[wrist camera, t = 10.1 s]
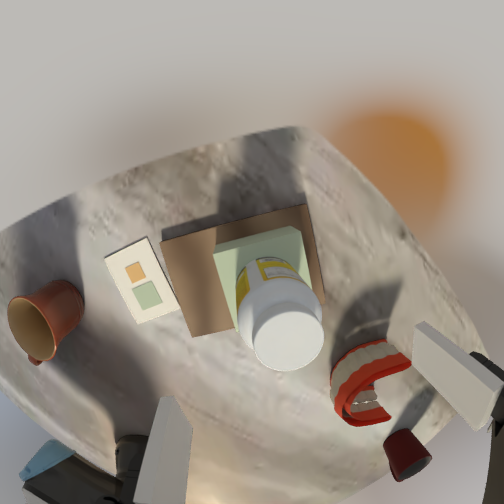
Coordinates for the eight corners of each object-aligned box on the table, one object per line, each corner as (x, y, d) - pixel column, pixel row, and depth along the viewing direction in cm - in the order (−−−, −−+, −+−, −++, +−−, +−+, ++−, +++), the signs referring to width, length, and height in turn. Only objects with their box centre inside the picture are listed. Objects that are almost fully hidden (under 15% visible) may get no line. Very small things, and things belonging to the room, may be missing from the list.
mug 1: (52, 262, 32) (9, 283, 22) (97, 291, 33) (59, 322, 23) (41, 323, 33) (7, 352, 23) (81, 351, 35) (52, 387, 25)
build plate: (193, 333, 35) (192, 337, 34) (161, 241, 32) (159, 242, 31) (322, 299, 36) (325, 303, 34) (304, 203, 33) (306, 204, 31)
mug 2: (397, 452, 47) (414, 479, 37) (369, 460, 47) (384, 490, 36) (417, 422, 45) (438, 451, 34) (388, 430, 44) (409, 463, 33)
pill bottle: (243, 319, 29) (250, 390, 17) (228, 262, 27) (226, 311, 16) (302, 305, 29) (340, 367, 17) (291, 247, 27) (331, 285, 16)
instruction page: (138, 323, 34) (137, 324, 34) (104, 258, 32) (103, 259, 32) (181, 307, 34) (180, 308, 34) (147, 237, 32) (146, 238, 32)
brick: (235, 313, 34) (236, 332, 29) (215, 244, 32) (212, 254, 27) (304, 294, 34) (316, 310, 29) (290, 225, 32) (300, 231, 27)
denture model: (328, 342, 37) (347, 373, 29) (387, 333, 38) (413, 359, 30) (317, 402, 40) (331, 435, 32) (371, 392, 41) (390, 420, 33)
